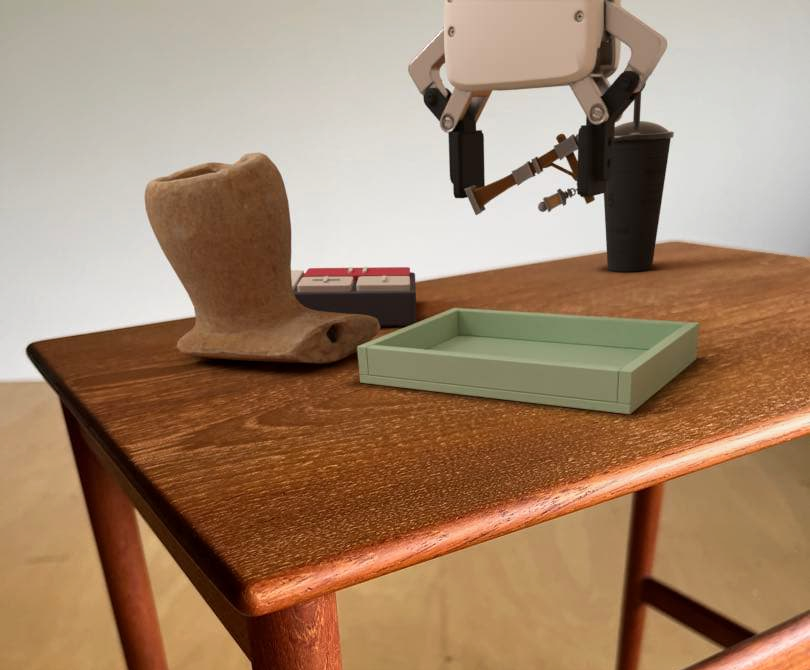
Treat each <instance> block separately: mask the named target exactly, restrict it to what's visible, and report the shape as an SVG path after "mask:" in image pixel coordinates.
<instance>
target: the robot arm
mask: <svg viewBox="0 0 810 670" xmlns="http://www.w3.org/2000/svg"><path fill="white" fill-rule="evenodd" d="M443 8H444V9H443V28H442V29H440V30H439V31H438V33H437V34H435V36H433V38H432V39H431V40H430V41H429V42H428V43H427V44H426V45H425V46H424V47H423V48H422V49H421V50H420V51H419V52H418V54H416V55H415V56H414V58H413V59H411V61H410V62H409V64H408V67H407V72H408V75H409V76H410V78H411V80H412V81H413V83H414V84H415V86H416V88H417V91H419V94H420V95H422V97H423V103H424V105H425V106H426V108H427V109H428V110H429V111H430V112H431V114H433V116H434V117H435V118H436V119H437V120H438V121H439V127H440V128H441V130H442V131H443V132H444V133H447V135H448V162H449V163H448V165H449V166H448V167H449V179H450V182H451V184H452V191H453V197H454V198H455V199H468V197H467V194H466V192H465V190H464V189H466V188H468V187H471V186H473V185H475V186H476V188H477V189H478V188H481V187H483V186H486V183H485V180H486V179H485V178H486V177H485V136H484V135H485V134H484V132H483V130H482V129H477V123H478V121H479V118H481V115H482V112H483V110H484V108H485V107H486V105H487V103H488V100H489V98H490V97H491V94H492V92H493V91H498V92H499V91H501V92H502V91H517V90H530V89H543V88H544V89H545V88H555V87H556V88H557V87H568V86H569V88H570V90H571V91H572V93H573V95H574V96H575V98H576V100H577V101H578V104H579V105H580V107H581V109H582V110H583V112H584V114H585V117H586V118H585V124H583V125H580V128H578V133H577V134H578V150H577V161H578V173H577V181H576V189H577V191H576V193H577V195H578V196H580V197H581V198H583V197H591V196H594V197H595V196H598V195H603V194H604V193H605V191H606V184H607V181H609V180H611V178H612V174H613V160H614V135H615V127H616V123H617V122H619V121H620V120H621V119H622V118H623V115H624V112H625V111H626V110H627V109H628V108H629V106H630V105H632V103H634V100H635V98H636V97H637V96H638V95H639V94H640V93H641V94H642V92H643V91H644V89H645V87H646V84H647V81H648V80H649V78H650V76H652V74H653V72H654V71H655V69H656V67H657V66H658V64H659V62H660V60H662V57H663V56H664V55H665V52H666V51H667V48H668V41H667V38H666V37H665V36H664V35H662V34H661V33H660V32H658V31H657V30H655V29H654V28H652V27H651V26H649V25H647V24H646V22H643V21H642V20H640V18H638V17H636V16H635V15H633V14H632V13H630V12H629V11H628V10H626V9H625V8H623V7H622V0H444V7H443ZM622 43H623V44H625V45H626V46H627V47H628V48H629V50H630V53H631V54H630V58H629V60H628V62H627V64H626V67H625V68H624V70H623V71H622V72H621V73H620V74H619V75H618V76H617V78H615V80H614V81H613V82H612V84H611V83H610V81H609V78H610V77H612V76H613V75H614V74H615V73H616V72H617V70H618V68H619V65H620V59H621V51H622V50H621V48H622ZM444 64H445V70H446V71H445V72H446V77H447V80H448V82H449V84H450V85H451V86H452V87H454V88H453V91H451V90H449V88H447V87H446V86H445V85H444V83H443V79H442V78H441V75H440V70H441V68H442V66H443V65H444Z"/></svg>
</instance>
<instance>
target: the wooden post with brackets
mask: <svg viewBox="0 0 810 670" xmlns="http://www.w3.org/2000/svg"><path fill="white" fill-rule="evenodd" d="M555 137H556V138H555V139H556V141H557V144H554V145H553V148H552V149H550V150H549V151H548V152H546V153H544V154H542V155H541V156H539V157H538V156H535V157H534V158H531V159H530V160H529V161H526V162H525V163H524V164H522V165H521V166H519V167H517V168H516V169H514V170H512V171H511V173H510V174H508V175H506V176H504V177H502V178H500V179H498V180H495V181H493V182H491V183H489V184H487V185H486V184H485V186H483V187H481V188H478V189H477V188H476V186H475V185H473V186H471V187H468V188H466V189H464V190H465V192H466V194H467V199H468V201H469V203H470V205H471V208H472V210H473V212H474V215H475V216H478V215H479V214H482V212H484V211H486V210H487V209H486V207H485V205H487V204H488V203H490V202H491V201H492V200H493V199H495V198H497V197H498V196H500V195H501V194H503V193H504V192H506V191H507V190H509V189H511V188H513V187H514V186H516V185H517V186H520V185H521V184H523V183H524V182H526V181H527V180H530V179H531V178H534V177H536V176H537V175H540V174H541V173H543V172H544V169H547V168H550V167H552V168H554V169H556V170H558V171H560V172H563V173H564V174H566V175H568V176H570V177H571V178H572V179H573V180H574V182H577V173H578V158H577V157H576V154H575V152H576V151H578V133H577V134H576V135H575V134H574V133H573V134H571V135H570V136H569V137H566V135H565V134H564V133H560V134H558V135H557V136H555ZM564 158H565V159H566V161H567V163H568V166H569V168H570V170H571V171H570V170H569V169H567V168H565V167H562V166H560V165H559V164H556V163H555V162H556V161H557V160H559V161H561V160H563V159H564ZM576 193H577V188H574V187H571V188H567V189H566V190H565V191H564V190H563V189H562V188H558V189H556V193H554V194H551V195H550V196H544V197H542V200H543V201H541V202H540V201H539V203H538V205H537V209H538V211H539V212H540V213H541V212H542V213H544V212H546V211H547V212H548V213H550V212H552V210H553V209H555V208H557V207H559V206H560V205H562V206H563V207H565V206H566V205H567V199H569V198H570V199H572V197H574V196H576ZM582 198H583V199H584V202H585V204H586V205H587V204H588V205H589V204H590V203H592V202H594V201H595V200H596V198H595V196H591V197H582Z"/></svg>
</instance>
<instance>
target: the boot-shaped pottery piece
mask: <svg viewBox="0 0 810 670" xmlns="http://www.w3.org/2000/svg"><path fill="white" fill-rule="evenodd" d="M144 190H145V191H144V207H145V213H146V215H147V219H148V222H149V224H150V227H151V229H152V231H153V234H154V236H155V238H156V240H157V243H158V244H159V247H160V249H161V250H162V253H163V254H164V256H165V258H166V259H167V261H168V263H169V264H170V266H171V268H172V270H173V271H174V273H175V274H176V276H177V278H178V280H179V281H180V283H181V284H182V286H183V288H184V290H185V292H186V294H187V295H188V297H189V299H190V301H191V303H192V305H193V309H194V315H195V324H194V326H193V327H192V328H191V329H190V330H189V331H188V332H187V333H185V334H184V335H182V336H181V338H179V340H178V341H177V342H176V348H177V350H179V352H181V353H183V354H185V355H187V356H191V357H192V356H193V357H198V358H199V357H200V358H206V359H207V358H208V359H217V360H219V359H221V360H230V361H231V360H232V361H248V362H267V363H268V362H270V363H287V364H288V363H289V364H314V365H315V364H317V365H318V364H329V363H330V364H331V363H334V362H338V361H340V360H342V359H346V358H347V357H349V356H350V355H352V354H355V353H357V352H358V351H357V346H359V345H362V344H364V343H367V342H370V341H372V340H373V338H375V337H376V336H377V334H378V333H379V332H380V330H381V326H380V325H379V322H378V319H376V318H375V317H372V316H368V315H361V314H345V313H335V312H323V311H316V310H311V309H309V308H306V307H304V306H303V305H302V304H301V303H299V302H298V300H297V299H296V298H295V295H294V293H293V288H292V279H291V270H292V225H291V224H292V222H291V213H290V212H291V211H290V204H289V198H288V193H287V190H286V186H285V182H284V179H283V176H282V174H281V172H280V170H279V169H278V167H277V165H276V164H275V163H274V162H273V161H272V160H271V158H270V157H269V156H268V155H267V154H265V153H262V152H250V153H245V154H244V155H242V156H241V157H240V159H239V160H237V161H236V162H233V163H232V164H231V163H223V162H214V161H213V162H206V163H205V162H204V163H201V164H197V165H193V166H191V167H187V168H183V169H181V170H178V171H175V172H172V173H171V174H169V175H167V176H159V177H157V178H154V179H151V180H150V181H148V183H147V184H146V187H145V189H144Z"/></svg>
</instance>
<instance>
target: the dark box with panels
mask: <svg viewBox="0 0 810 670" xmlns="http://www.w3.org/2000/svg"><path fill="white" fill-rule="evenodd" d="M291 279H292V288H293V293H294V295H295V298H296V299H297V300H298V302H299V303H301V304H302V305H303V306H304V307H306V308H309V309H311V310H316V311H323V312H335V313H345V314H361V315H368V316H372V317H375V318H376V319H378V322H379V325H380V327H394V326H395V327H396V326H397V327H399V326H405V327H407V326H410V325H412V324H415V323H417V290H416V289H417V287H416V273H415V272H411V268H410V267H409V266H394V267H391V266H390V267H389V266H388V267H384V266H383V267H368V266H363V267H353V266H349V267H309V268H307V270H306V271H305V272H304V270H302V269H300V270H299V269H295V270H293V269H291Z"/></svg>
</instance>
